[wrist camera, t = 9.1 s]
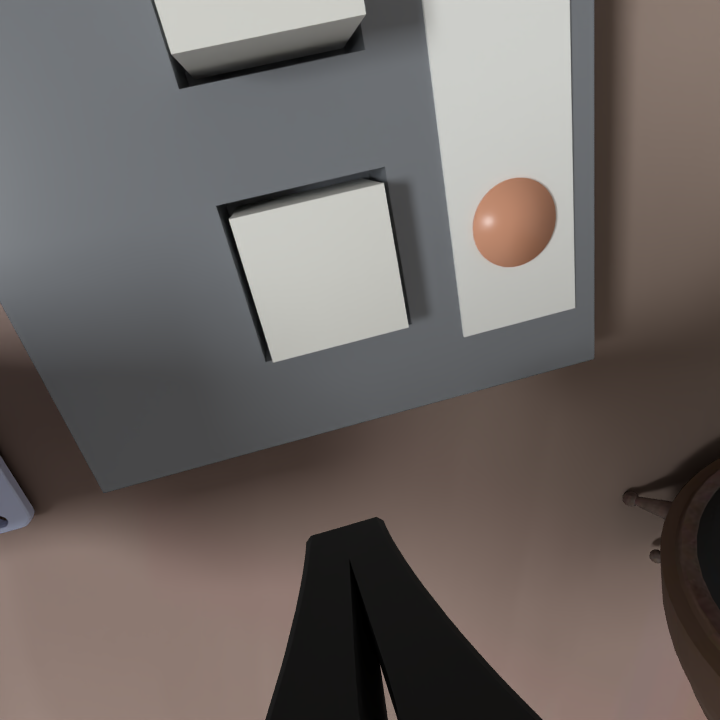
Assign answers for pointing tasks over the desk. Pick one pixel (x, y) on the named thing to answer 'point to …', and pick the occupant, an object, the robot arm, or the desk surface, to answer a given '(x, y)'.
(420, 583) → the robot arm
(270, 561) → the desk surface
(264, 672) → the desk surface
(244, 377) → the button panel
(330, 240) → the button
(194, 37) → the button
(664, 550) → the alarm clock
